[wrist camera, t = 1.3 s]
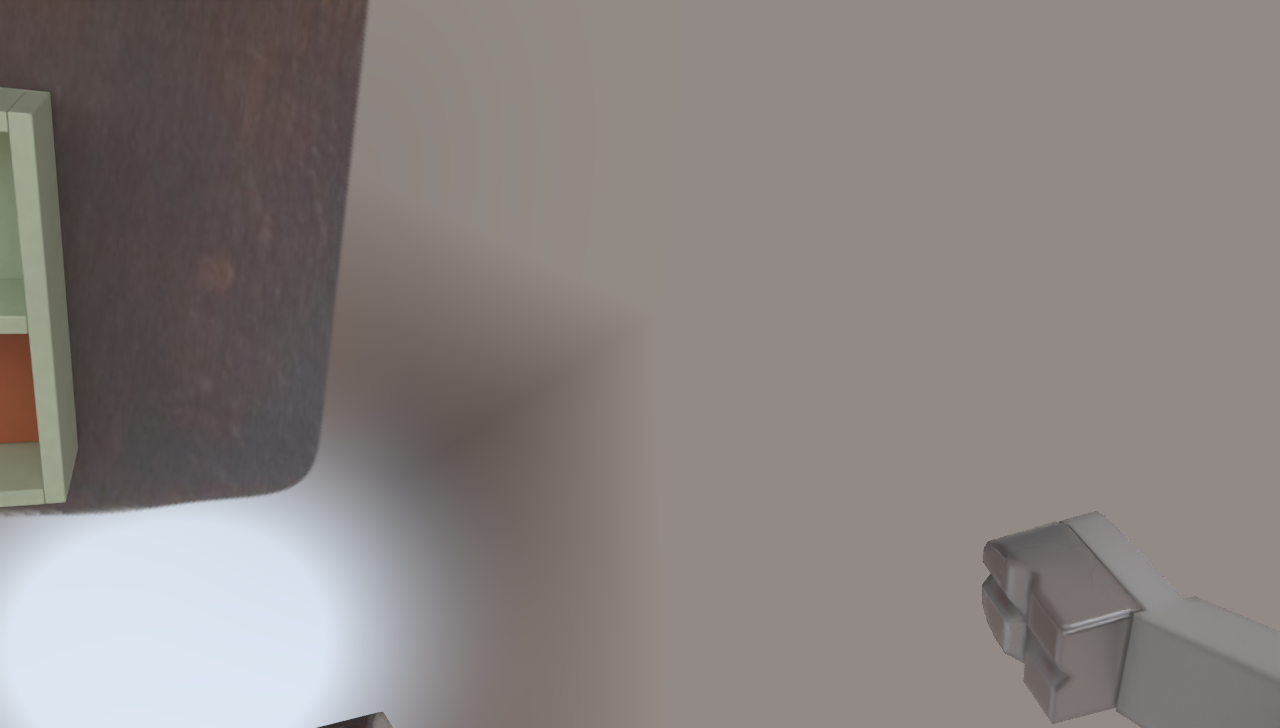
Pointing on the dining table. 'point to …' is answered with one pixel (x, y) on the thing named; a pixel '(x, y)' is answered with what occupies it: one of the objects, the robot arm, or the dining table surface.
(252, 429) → the dining table surface
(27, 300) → the green divided box
